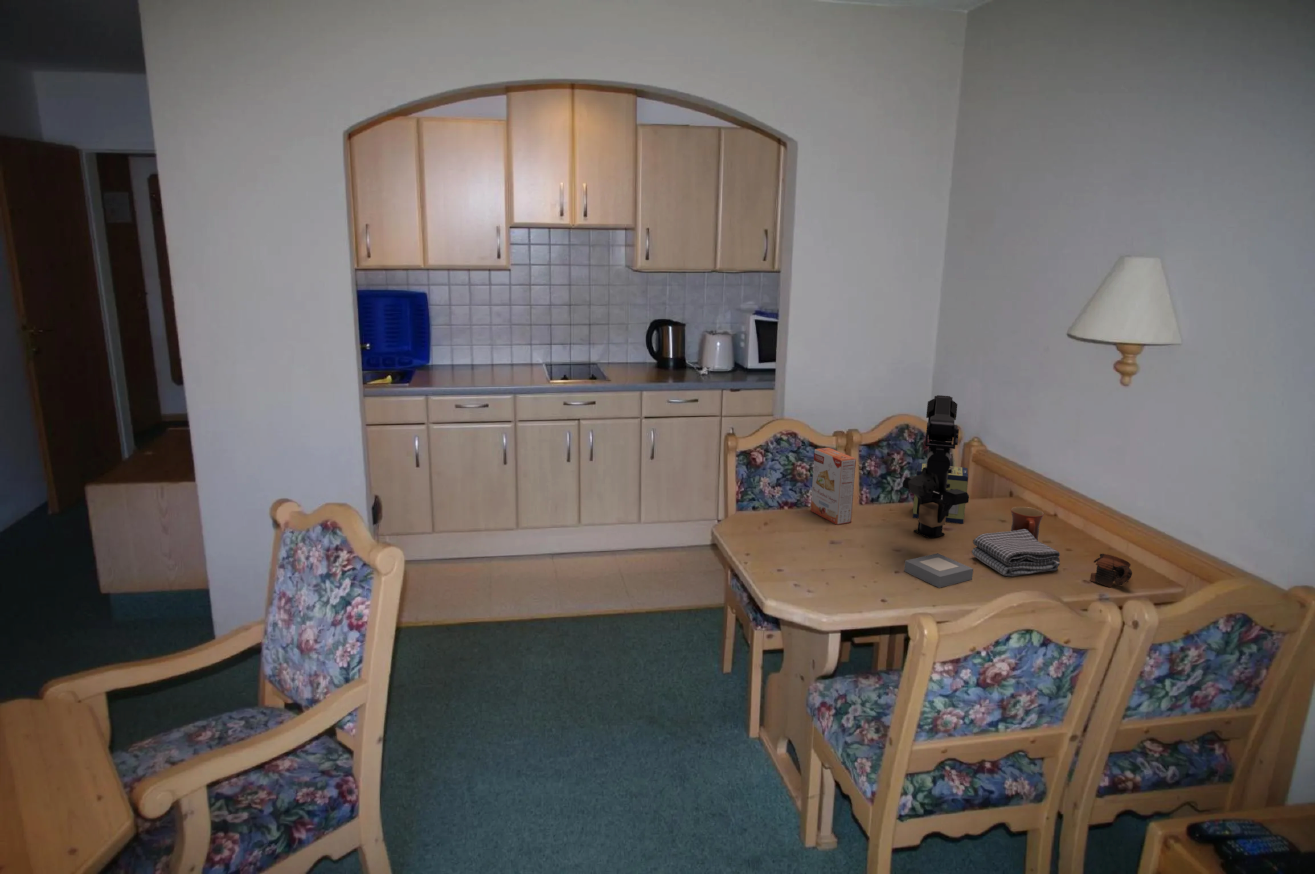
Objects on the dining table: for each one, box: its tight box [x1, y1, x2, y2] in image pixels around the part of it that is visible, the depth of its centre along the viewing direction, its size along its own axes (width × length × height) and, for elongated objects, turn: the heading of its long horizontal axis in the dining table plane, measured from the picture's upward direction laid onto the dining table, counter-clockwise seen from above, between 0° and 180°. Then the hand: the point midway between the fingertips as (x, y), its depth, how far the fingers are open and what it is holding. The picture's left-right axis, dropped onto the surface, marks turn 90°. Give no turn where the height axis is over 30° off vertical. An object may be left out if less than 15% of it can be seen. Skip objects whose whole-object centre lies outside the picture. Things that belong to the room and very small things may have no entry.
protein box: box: [912, 462, 969, 525], centre depth 268 cm, size 10×16×16 cm
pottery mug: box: [1089, 553, 1133, 589], centre depth 220 cm, size 12×10×8 cm
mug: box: [1010, 506, 1045, 541], centre depth 243 cm, size 12×9×10 cm
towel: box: [971, 529, 1061, 577], centre depth 230 cm, size 15×18×8 cm
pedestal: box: [903, 553, 974, 589], centre depth 222 cm, size 12×12×3 cm
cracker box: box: [810, 447, 857, 525], centre depth 264 cm, size 14×6×21 cm, turn 25°
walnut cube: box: [917, 502, 946, 527], centre depth 233 cm, size 5×5×5 cm
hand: (931, 519), depth 233 cm, fingers closed on walnut cube, 5 cm apart
